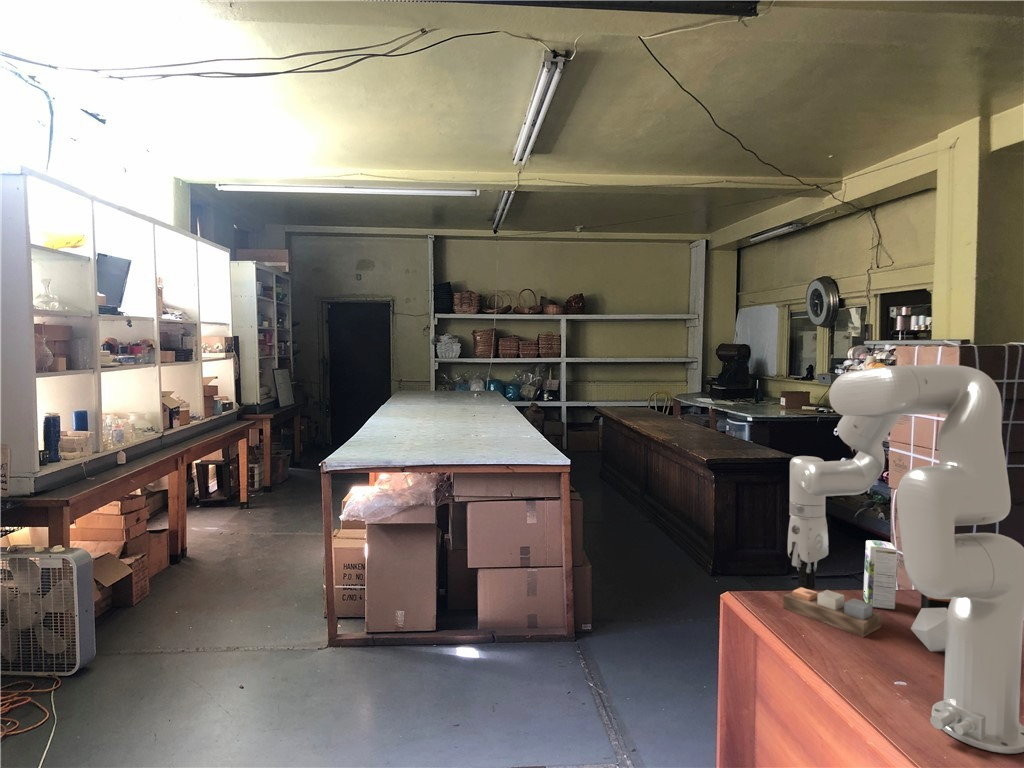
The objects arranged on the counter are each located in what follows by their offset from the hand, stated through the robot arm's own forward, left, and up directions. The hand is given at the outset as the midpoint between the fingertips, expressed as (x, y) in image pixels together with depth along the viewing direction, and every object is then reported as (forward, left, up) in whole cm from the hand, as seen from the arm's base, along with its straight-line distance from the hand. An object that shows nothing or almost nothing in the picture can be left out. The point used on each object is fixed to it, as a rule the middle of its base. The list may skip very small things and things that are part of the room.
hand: (806, 587), depth 142 cm
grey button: (+2, -11, -3) cm, 12 cm away
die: (+8, -24, -5) cm, 26 cm away
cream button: (+1, -5, -3) cm, 6 cm away
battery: (+21, -16, -5) cm, 27 cm away
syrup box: (+18, -5, -5) cm, 20 cm away
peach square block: (0, 0, -4) cm, 4 cm away
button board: (+1, -5, -5) cm, 8 cm away
